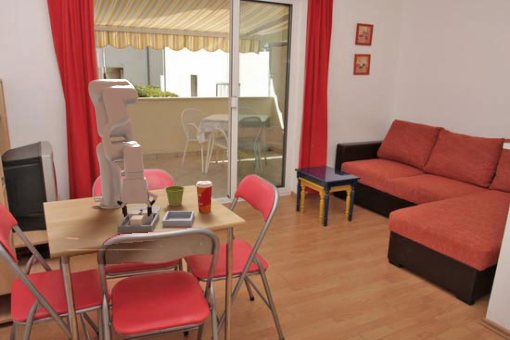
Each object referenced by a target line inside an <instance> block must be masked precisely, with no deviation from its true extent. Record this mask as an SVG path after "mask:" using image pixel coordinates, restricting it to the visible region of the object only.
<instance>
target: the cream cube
mask: <svg viewBox="0 0 510 340" xmlns="http://www.w3.org/2000/svg"><path fill="white" fill-rule="evenodd" d="M130 225H131V226H132V225H144V215H135V216H132V217H131V219H130Z"/></svg>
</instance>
